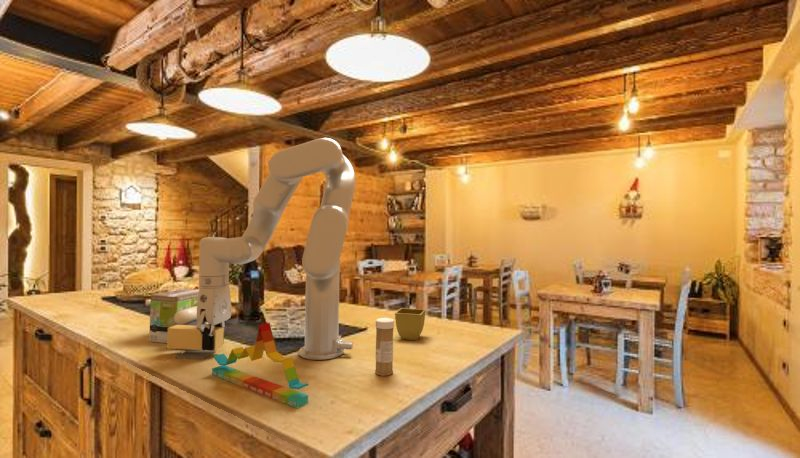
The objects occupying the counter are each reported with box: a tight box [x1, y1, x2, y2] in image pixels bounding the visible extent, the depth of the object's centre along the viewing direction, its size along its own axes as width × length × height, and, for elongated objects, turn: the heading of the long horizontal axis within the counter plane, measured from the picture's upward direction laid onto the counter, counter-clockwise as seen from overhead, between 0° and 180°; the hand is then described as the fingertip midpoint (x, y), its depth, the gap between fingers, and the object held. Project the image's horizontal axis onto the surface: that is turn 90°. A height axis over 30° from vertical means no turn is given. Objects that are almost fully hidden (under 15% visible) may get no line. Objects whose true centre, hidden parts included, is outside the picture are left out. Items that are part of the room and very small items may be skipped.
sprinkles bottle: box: [374, 317, 395, 377], centre depth 99 cm, size 5×5×14 cm
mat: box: [175, 350, 217, 360], centre depth 111 cm, size 8×6×1 cm
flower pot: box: [394, 307, 426, 341], centre depth 132 cm, size 9×9×9 cm
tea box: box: [148, 288, 199, 344], centre depth 129 cm, size 15×10×15 cm
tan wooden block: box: [166, 325, 225, 351], centre depth 111 cm, size 14×4×6 cm, turn 84°
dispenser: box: [174, 306, 208, 351], centre depth 120 cm, size 9×10×11 cm
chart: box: [211, 322, 309, 409], centre depth 89 cm, size 30×3×15 cm, turn 55°
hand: (213, 346), depth 110 cm, fingers closed on tan wooden block, 4 cm apart
